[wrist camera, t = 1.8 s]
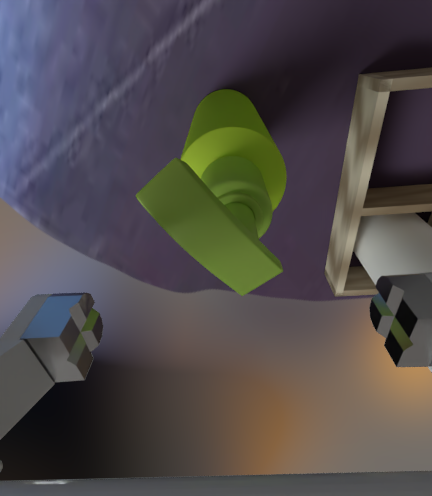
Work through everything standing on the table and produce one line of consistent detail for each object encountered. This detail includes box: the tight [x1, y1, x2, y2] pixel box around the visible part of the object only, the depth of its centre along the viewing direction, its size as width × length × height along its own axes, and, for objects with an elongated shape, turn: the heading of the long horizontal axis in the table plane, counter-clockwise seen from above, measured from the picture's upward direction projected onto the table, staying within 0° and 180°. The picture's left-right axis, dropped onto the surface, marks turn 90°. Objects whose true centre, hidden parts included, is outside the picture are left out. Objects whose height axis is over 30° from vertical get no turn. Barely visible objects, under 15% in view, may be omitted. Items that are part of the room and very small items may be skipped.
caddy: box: [324, 68, 432, 296], centre depth 28 cm, size 21×11×4 cm, turn 5°
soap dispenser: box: [136, 89, 286, 296], centre depth 18 cm, size 6×7×20 cm
